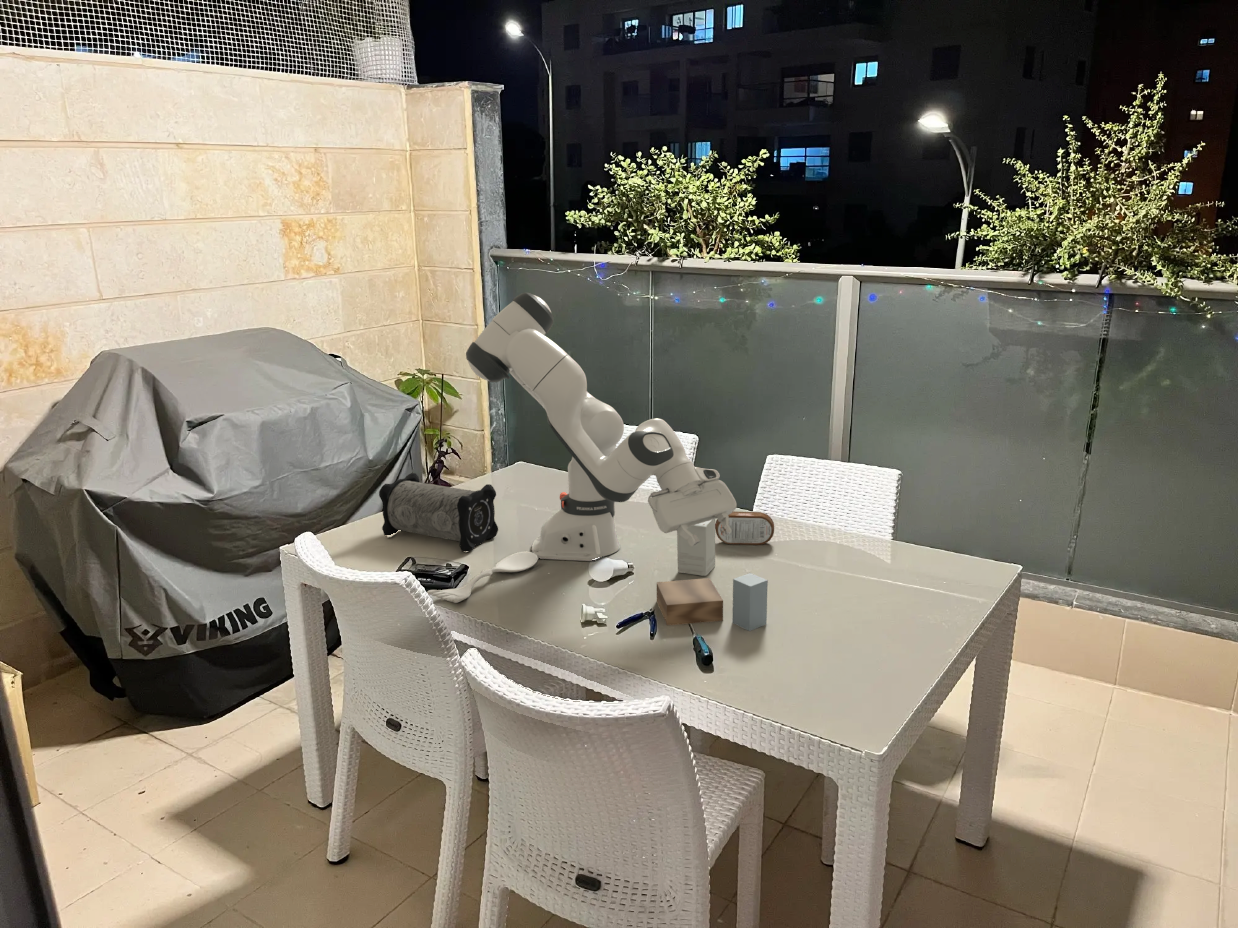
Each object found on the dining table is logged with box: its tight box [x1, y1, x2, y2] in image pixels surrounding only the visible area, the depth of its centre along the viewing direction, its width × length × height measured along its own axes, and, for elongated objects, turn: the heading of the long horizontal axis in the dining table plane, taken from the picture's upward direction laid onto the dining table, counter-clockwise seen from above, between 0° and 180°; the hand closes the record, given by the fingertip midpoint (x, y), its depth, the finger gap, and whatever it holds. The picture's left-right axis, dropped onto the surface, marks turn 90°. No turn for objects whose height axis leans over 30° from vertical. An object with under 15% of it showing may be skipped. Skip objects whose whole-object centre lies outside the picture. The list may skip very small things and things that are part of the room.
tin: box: [715, 510, 775, 546], centre depth 243 cm, size 15×3×8 cm, turn 84°
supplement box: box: [676, 519, 716, 577], centre depth 227 cm, size 7×7×13 cm
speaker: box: [378, 472, 499, 552], centre depth 251 cm, size 15×29×15 cm, turn 62°
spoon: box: [426, 550, 539, 604], centre depth 223 cm, size 9×32×4 cm, turn 147°
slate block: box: [731, 572, 769, 632], centre depth 198 cm, size 5×5×10 cm
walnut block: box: [656, 577, 724, 626], centre depth 206 cm, size 12×12×5 cm
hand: (711, 539), depth 204 cm, fingers open, 8 cm apart
